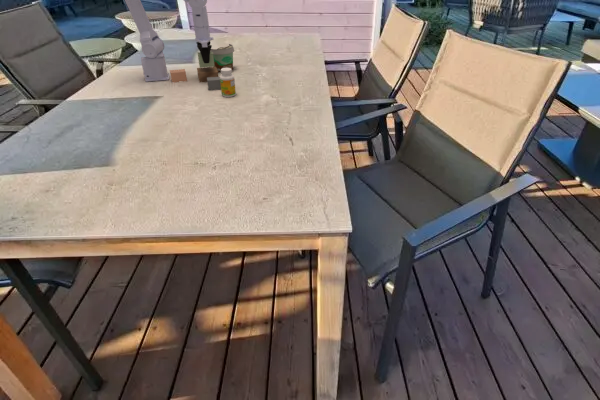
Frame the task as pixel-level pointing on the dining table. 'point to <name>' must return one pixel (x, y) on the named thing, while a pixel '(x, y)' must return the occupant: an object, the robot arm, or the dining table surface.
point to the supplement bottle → (227, 83)
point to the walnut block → (206, 73)
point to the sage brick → (202, 64)
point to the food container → (223, 57)
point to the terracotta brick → (178, 75)
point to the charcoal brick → (214, 83)
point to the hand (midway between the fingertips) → (206, 61)
